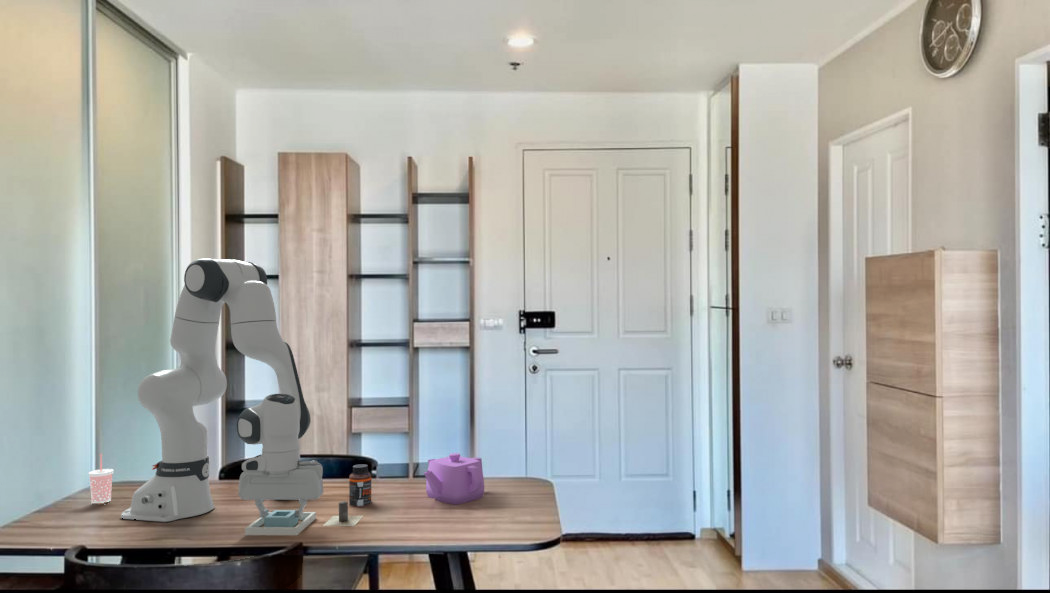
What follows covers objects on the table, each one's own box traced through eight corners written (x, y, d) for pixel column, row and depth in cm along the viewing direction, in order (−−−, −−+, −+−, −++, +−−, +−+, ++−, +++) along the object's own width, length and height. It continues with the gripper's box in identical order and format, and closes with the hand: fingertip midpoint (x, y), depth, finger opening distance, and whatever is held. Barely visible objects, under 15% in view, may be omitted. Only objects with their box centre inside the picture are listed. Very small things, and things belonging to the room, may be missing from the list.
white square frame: (245, 539, 161) (244, 528, 161) (267, 522, 173) (267, 512, 173) (297, 539, 160) (297, 528, 160) (315, 522, 173) (315, 512, 173)
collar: (264, 532, 164) (264, 517, 164) (276, 522, 171) (276, 508, 171) (288, 532, 164) (288, 517, 164) (300, 522, 171) (300, 508, 171)
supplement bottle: (365, 510, 182) (365, 468, 182) (345, 509, 183) (345, 467, 183) (375, 504, 188) (374, 463, 188) (355, 503, 189) (354, 462, 189)
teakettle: (484, 504, 186) (483, 459, 187) (422, 506, 186) (421, 461, 186) (485, 488, 204) (484, 447, 204) (428, 489, 203) (427, 448, 203)
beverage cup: (87, 502, 193) (87, 453, 194) (112, 498, 197) (112, 450, 197) (89, 507, 189) (89, 457, 189) (115, 503, 192) (114, 453, 192)
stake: (322, 529, 167) (322, 507, 167) (333, 519, 175) (332, 498, 175) (354, 529, 166) (354, 507, 166) (363, 519, 174) (363, 498, 174)
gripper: (326, 457, 170) (327, 513, 169) (247, 458, 171) (247, 513, 170) (318, 463, 163) (318, 521, 163) (235, 463, 164) (235, 521, 164)
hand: (281, 517), depth 167 cm, fingers open, 7 cm apart
